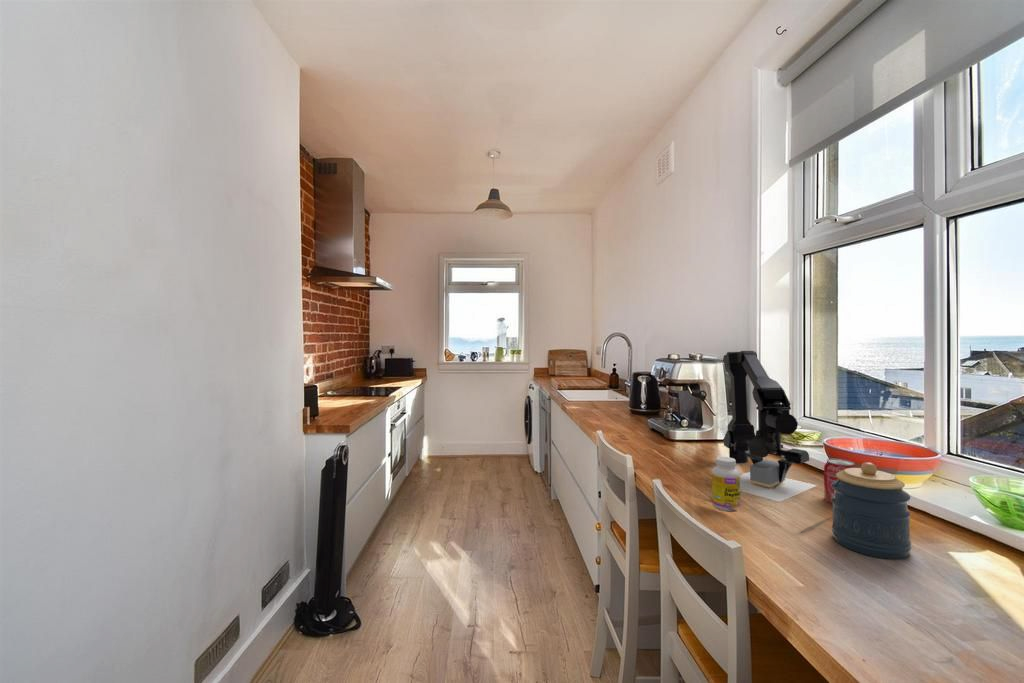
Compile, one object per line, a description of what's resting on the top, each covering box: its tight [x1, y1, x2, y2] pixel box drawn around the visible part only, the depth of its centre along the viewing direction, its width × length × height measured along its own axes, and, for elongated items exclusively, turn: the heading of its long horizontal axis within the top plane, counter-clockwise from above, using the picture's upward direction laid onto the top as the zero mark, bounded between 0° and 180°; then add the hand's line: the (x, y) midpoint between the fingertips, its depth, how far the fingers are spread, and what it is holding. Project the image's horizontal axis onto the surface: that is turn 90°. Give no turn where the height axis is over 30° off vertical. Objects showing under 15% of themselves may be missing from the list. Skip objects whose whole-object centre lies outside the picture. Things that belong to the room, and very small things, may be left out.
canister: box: [831, 461, 912, 560], centre depth 92 cm, size 13×13×18 cm
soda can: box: [823, 458, 856, 505], centre depth 112 cm, size 7×7×12 cm
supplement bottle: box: [711, 456, 741, 513], centre depth 114 cm, size 7×7×13 cm
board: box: [740, 471, 818, 503], centre depth 126 cm, size 22×18×2 cm
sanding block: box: [749, 459, 786, 488], centre depth 127 cm, size 9×6×5 cm, turn 123°
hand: (770, 479), depth 128 cm, fingers closed on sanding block, 5 cm apart
